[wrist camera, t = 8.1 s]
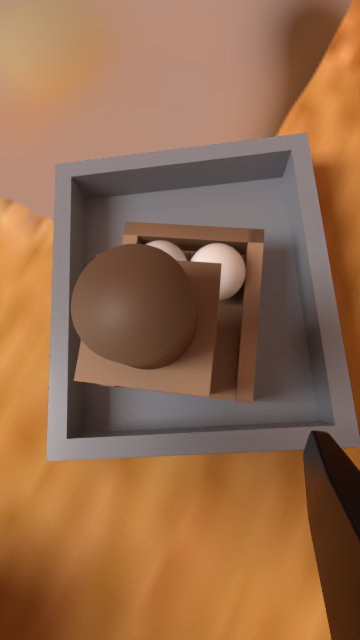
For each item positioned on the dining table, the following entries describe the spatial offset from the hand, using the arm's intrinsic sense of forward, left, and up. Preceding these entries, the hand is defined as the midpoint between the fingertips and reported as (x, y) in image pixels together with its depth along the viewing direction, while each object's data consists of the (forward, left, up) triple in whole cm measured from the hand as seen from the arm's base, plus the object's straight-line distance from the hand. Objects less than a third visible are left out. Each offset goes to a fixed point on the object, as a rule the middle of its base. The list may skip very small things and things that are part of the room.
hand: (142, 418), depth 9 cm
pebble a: (+7, -3, -7) cm, 10 cm away
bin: (+6, -1, -10) cm, 12 cm away
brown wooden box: (+5, -1, -10) cm, 11 cm away
